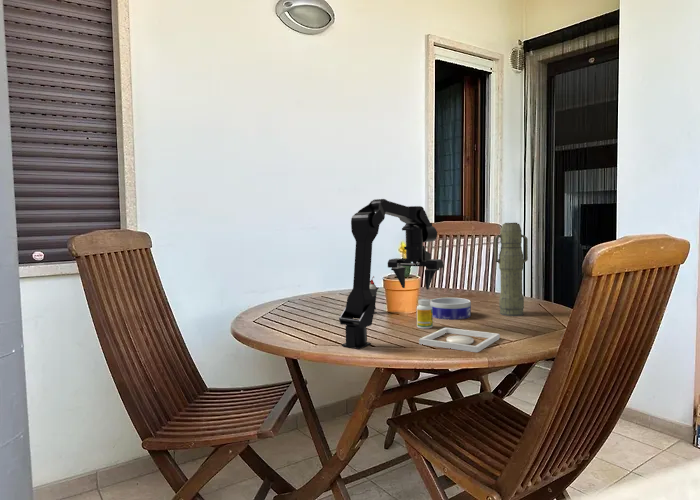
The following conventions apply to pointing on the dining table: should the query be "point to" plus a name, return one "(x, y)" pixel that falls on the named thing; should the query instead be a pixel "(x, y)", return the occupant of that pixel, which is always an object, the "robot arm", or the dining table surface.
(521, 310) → the thermos
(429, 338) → the corral
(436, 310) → the dog bowl
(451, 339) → the plinth
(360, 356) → the dining table surface
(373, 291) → the sundae
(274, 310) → the dining table surface
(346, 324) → the robot arm
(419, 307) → the supplement bottle
